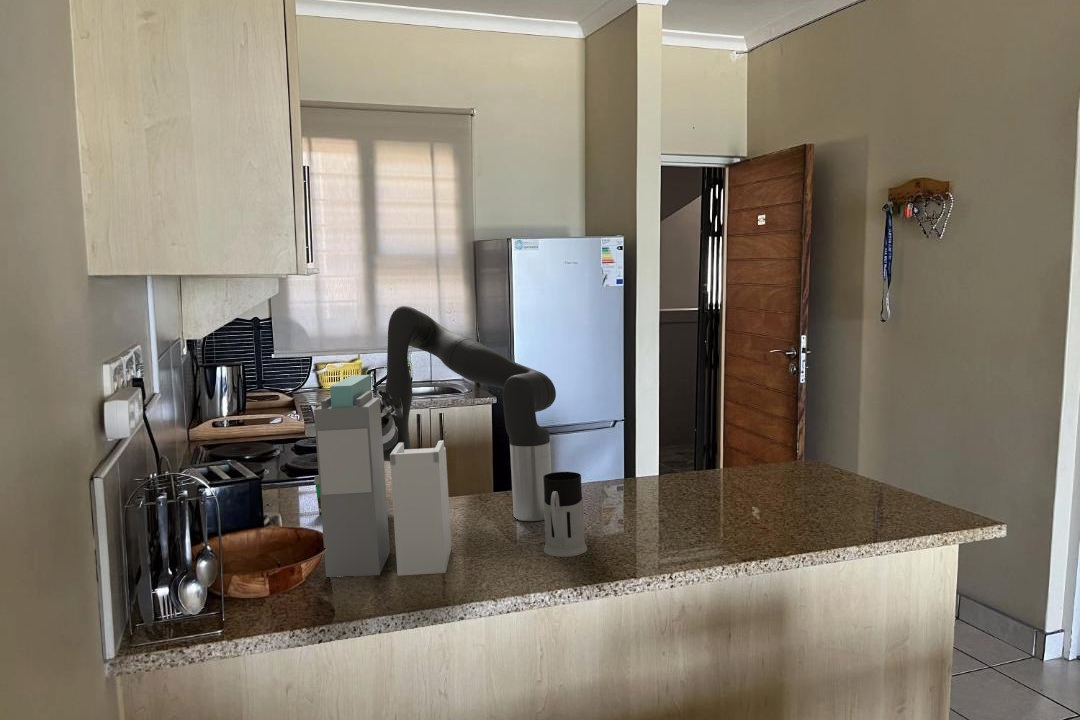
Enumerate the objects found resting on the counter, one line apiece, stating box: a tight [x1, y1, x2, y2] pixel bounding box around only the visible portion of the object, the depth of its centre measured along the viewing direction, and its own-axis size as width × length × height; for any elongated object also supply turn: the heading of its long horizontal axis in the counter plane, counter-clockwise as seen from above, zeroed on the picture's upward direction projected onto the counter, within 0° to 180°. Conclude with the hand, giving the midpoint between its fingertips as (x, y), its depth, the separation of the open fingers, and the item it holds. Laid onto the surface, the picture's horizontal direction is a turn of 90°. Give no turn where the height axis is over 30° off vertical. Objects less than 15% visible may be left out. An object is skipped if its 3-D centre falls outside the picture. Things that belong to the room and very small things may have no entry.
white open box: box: [389, 439, 452, 577], centre depth 158 cm, size 9×15×23 cm, turn 2°
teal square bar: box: [329, 374, 372, 408], centre depth 160 cm, size 4×20×4 cm, turn 2°
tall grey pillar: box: [313, 390, 391, 578], centre depth 157 cm, size 10×13×34 cm
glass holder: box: [543, 471, 588, 558], centre depth 159 cm, size 9×14×15 cm, turn 167°
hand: (363, 396), depth 172 cm, fingers open, 8 cm apart
